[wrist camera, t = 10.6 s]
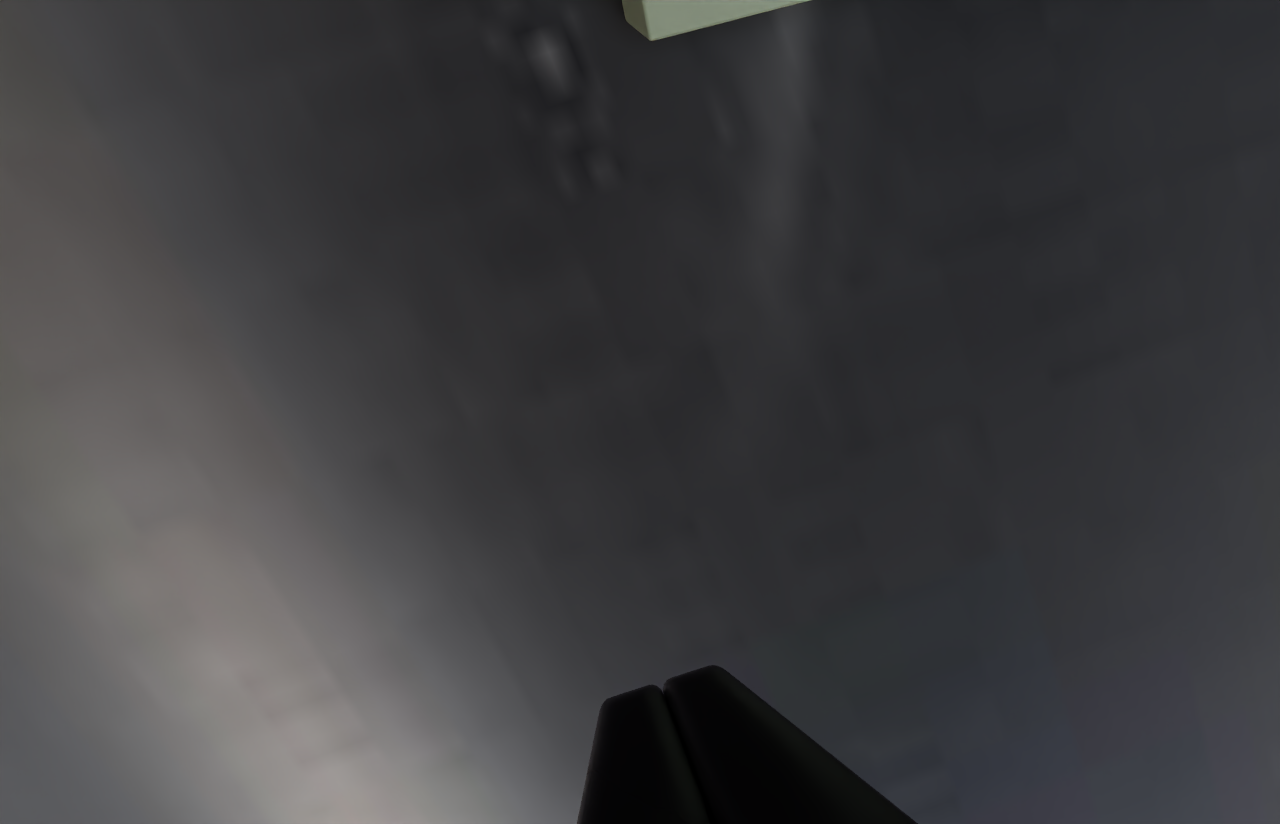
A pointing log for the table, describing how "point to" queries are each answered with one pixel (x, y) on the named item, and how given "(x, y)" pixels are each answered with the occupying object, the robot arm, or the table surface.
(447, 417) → the table surface
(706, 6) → the plug block
